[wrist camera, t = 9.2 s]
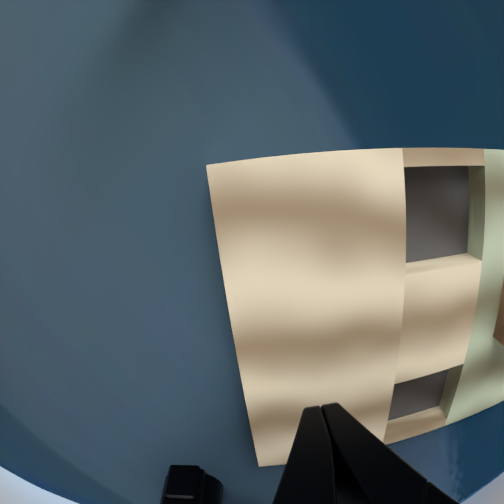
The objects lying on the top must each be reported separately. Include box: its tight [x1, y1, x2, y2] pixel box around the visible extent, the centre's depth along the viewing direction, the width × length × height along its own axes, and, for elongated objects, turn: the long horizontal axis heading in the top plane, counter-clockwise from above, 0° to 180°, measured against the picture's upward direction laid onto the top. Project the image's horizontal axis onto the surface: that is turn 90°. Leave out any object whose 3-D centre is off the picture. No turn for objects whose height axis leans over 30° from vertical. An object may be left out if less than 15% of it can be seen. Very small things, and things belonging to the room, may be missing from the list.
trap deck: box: [206, 148, 504, 467], centre depth 19 cm, size 22×26×2 cm
